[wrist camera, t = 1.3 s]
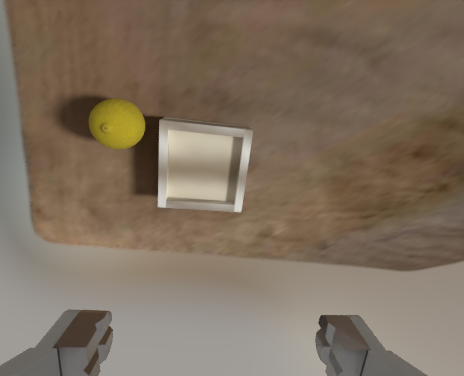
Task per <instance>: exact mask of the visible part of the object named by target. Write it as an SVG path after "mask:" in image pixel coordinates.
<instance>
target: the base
mask: <svg viewBox="0 0 464 376" xmlns="http://www.w3.org/2000/svg"><path fill="white" fill-rule="evenodd" d="M252 135H253V130H252V129H251V128H249V127H248V126H240V125H232V124H223V123H214V122H205V121H196V120H187V119H179V118H170V117H164V118H162V119H160V120H159V170H158V207H165V208H181V209H197V210H213V211H230V212H241V210H242V203H243V196H244V189H245V182H246V176H247V169H248V162H249V155H250V148H251V142H252Z"/></svg>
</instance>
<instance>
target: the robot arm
mask: <svg viewBox="0 0 464 376" xmlns="http://www.w3.org/2000/svg"><path fill="white" fill-rule="evenodd" d="M111 321H112V314H111V312H110V311H98V310H67V311H65V312H64V313H63V314H62V315H61V317H60V318H59V319H58V320H57V321H56V323H55V324H54V325H53V326H52V327H51V329H50V330H49V331H48V332H47V334H46V335H45V336H44V337H43V338H42V340H41V341H40V342H39V343H38V344H37V346H36V347H35V348H29V349H27V350H26V351H24V352H23V353H21V354H19V355H17V356H16V357H14V358H12V359H11V360H9V361H7V362H5V363H4V364H2V365H1V366H0V376H98V375H99V373H100V364H101V363H102V362H103V361H104V360H105V359H106V358H107V356H108V354H109V351H110V348H111V344H112V339H113V338H112V337H113V329H111V327H110V326H109V324H110V323H111ZM319 325H320V327H321V329H320V330H319V331H318V332H317V333H316V349H317V353H318V355H319V358H320V360H321V361H322V362H323V363H324V364H325V365H327V367H326V374H327V376H427V375H426V374H424V373H423V372H421V371H420V370H418V369H417V368H415V367H414V366H412V365H411V364H409V363H408V362H406V361H405V360H403V359H402V358H400V357H399V356H397V355H396V354H394V353H393V352H391V351H386V350H385V348H384V347H383V346H382V344H381V343H380V342H379V340H378V339H377V338H376V336H375V335H374V334H373V332H372V331H371V330H370V328H369V327H368V326H367V324H366V323H365V322H364V320H363V319H362V318H361V317H360V316H358V315H321V316H320V318H319Z"/></svg>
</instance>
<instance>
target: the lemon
mask: <svg viewBox="0 0 464 376" xmlns="http://www.w3.org/2000/svg"><path fill="white" fill-rule="evenodd" d="M89 128H90V131H91V133H92V135H93V136H94V138H95V139H96V140H97V141H98V142H99V143H101V144H102V145H104V146H106V147H109V148H112V149H125V148H130V147H132V146H133V145H135V144H137V143H138V142H139V141H140V140H141V138H142V136H143V135H144V131H145V120H144V117H143V115H142V113H141V111H140V110H139V109H138V108H137V107H136V106H135V105H133V104H132V103H131V102H128V101H126V100H123V99H118V98H114V99H107V100H104V101H102V102H100V103H99V104H97V105H96V106H95V107H94V108H93V110H92V111H91V113H90V116H89Z"/></svg>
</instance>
